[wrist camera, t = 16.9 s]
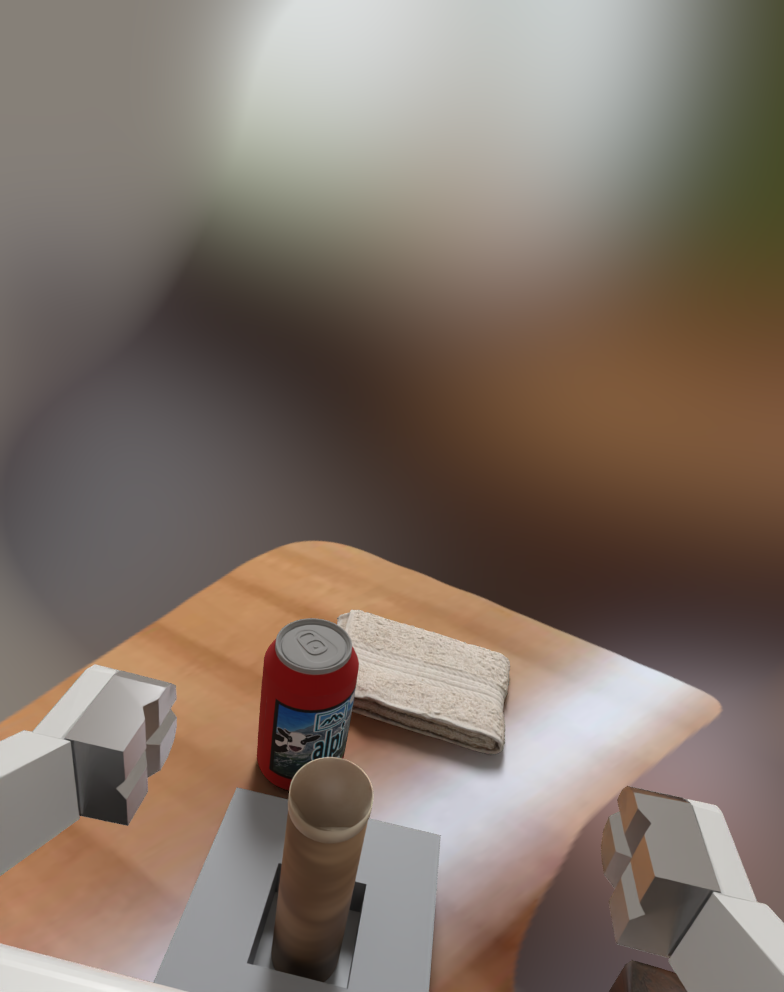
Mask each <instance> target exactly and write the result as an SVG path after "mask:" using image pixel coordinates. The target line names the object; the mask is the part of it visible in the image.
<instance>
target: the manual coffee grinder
mask: <svg viewBox="0 0 784 992" xmlns="http://www.w3.org/2000/svg"><path fill="white" fill-rule="evenodd" d="M609 992H687V990H686V989H685V987H684V985H683V984H682V982H681V981H680V979H679V977H678V976H677V974H676V973H674V972H671V971H667V970H664V969H661V968H658V967H654V966H651V965H648V964H644V963H640V962H637V961H633V960H632V961H630V962H629V963H627V964H626V965H625V966H624V968H623V969H622V971H621V973H620V974H619V976H618V978H617V979H616V981H615V982H614V984H613V985H612V987H611V989H610V990H609Z"/></svg>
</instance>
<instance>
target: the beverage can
mask: <svg viewBox="0 0 784 992" xmlns="http://www.w3.org/2000/svg"><path fill="white" fill-rule="evenodd" d="M358 670H359V661H358V657H357V654H356V652H355V650H354V648H353V646H352V641H351V638H350V637H349V635H348V634H347V632H346V631H345V630H344V629H343V628H341V627H340V626H338V625H337V624H335V623H332V622H330V621H327V620H322V619H314V618H310V619H301V620H297V621H294V622H292V623H290V624H288V625H286V626H285V627H284V628H282V629H281V631H280V632H279V633H278V635H277V638H276V639H275V640H274V641H273V643H272V644H271V645H270V646H269V648H268V650H267V651H266V654H265V657H264V667H263V678H262V689H261V702H260V716H259V731H258V748H257V760H258V765H259V767H260V769H261V771H262V773H263V774H264V776H265V777H266V778H267V779H268V780H269V781H270V782H272V783H273V784H274V785H276V786H278V787H280V788H283V789H286V790H289V789H290V785H291V782H292V779H293V777H294V776H295V774H296V773H297V772H298V770H299V769H300V768H301V767H303V766H304V765H305V764H307V763H309V762H310V761H313V760H315V759H319V758H324V757H337V758H342V759H343V758H344V752H345V747H346V742H347V736H348V731H349V725H350V719H351V713H352V707H353V702H354V696H355V689H356V683H357V676H358Z"/></svg>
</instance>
